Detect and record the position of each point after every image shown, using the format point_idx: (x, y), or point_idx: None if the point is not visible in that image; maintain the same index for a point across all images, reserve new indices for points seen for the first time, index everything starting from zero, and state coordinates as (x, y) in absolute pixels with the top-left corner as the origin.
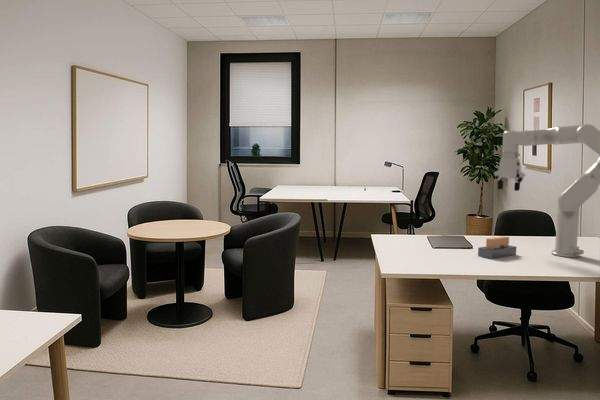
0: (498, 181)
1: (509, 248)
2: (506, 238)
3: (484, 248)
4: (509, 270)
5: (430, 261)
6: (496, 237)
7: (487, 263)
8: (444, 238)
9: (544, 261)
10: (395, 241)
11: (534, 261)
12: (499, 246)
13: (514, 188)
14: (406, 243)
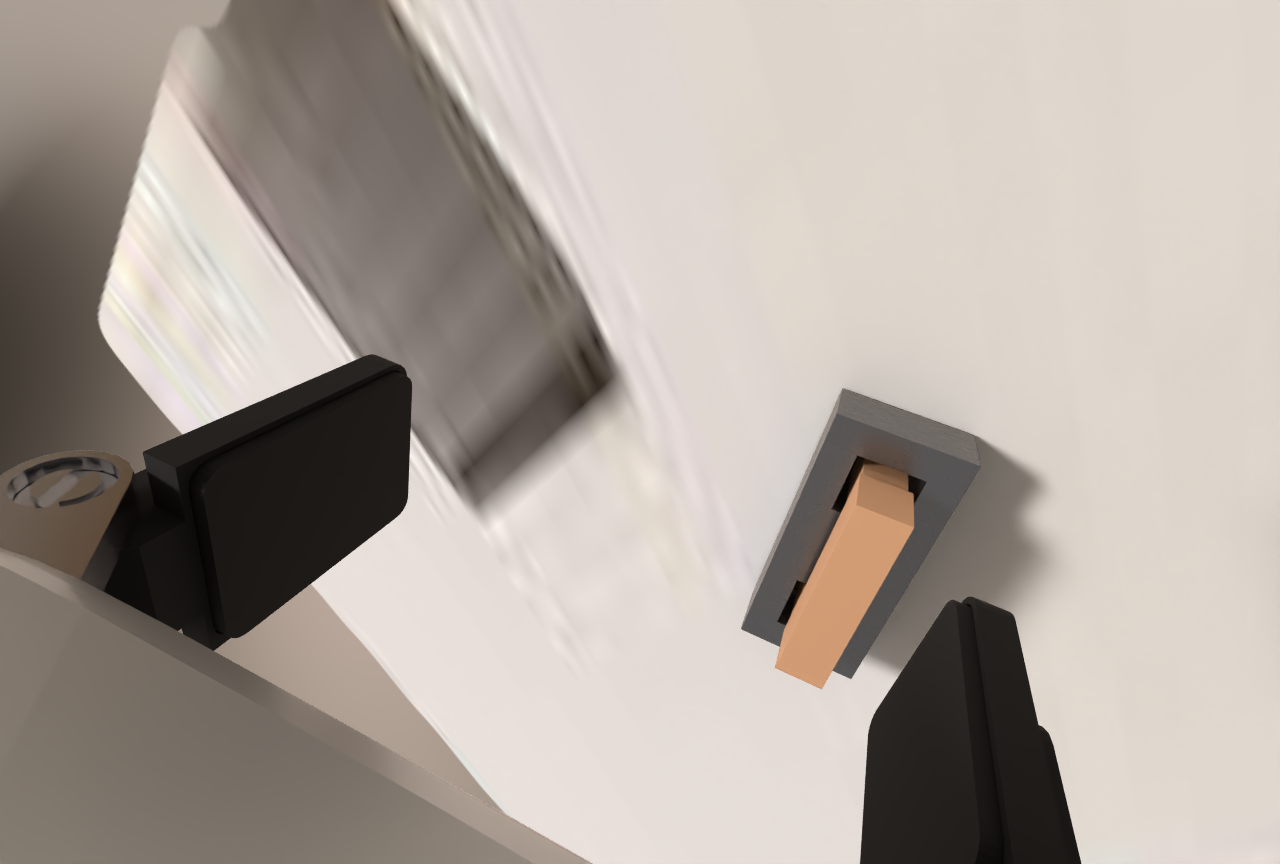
0: (202, 640)
1: (935, 536)
2: (897, 550)
3: None
4: None
5: (631, 775)
6: (821, 593)
7: (867, 736)
8: (303, 125)
9: (1255, 543)
10: None
11: (1161, 578)
12: None
13: (869, 776)
14: None
